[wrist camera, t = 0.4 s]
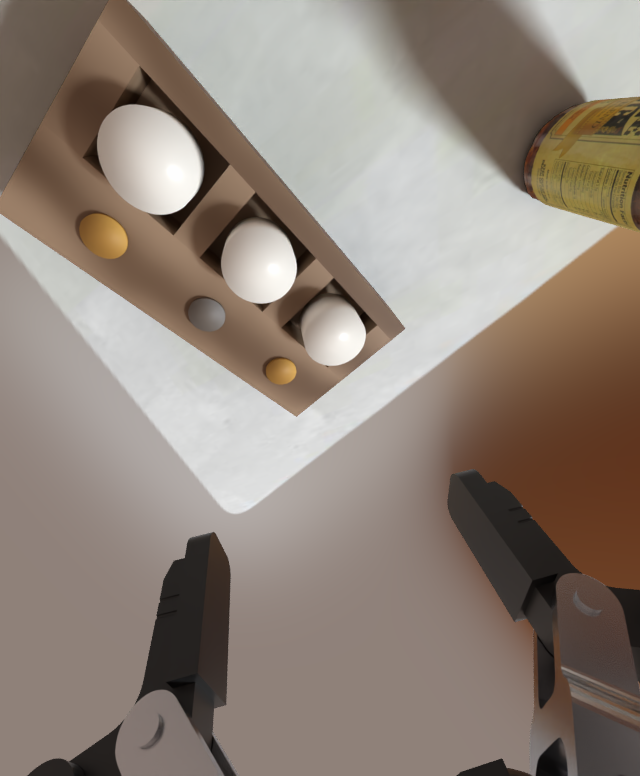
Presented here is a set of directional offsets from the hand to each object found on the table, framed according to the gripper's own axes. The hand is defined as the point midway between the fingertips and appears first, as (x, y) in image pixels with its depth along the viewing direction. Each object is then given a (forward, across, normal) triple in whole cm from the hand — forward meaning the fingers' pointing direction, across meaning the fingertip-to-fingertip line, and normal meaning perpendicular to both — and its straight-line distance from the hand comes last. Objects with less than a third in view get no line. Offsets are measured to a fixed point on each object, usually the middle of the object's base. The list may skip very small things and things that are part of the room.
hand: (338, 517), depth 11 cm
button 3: (+17, -3, 0) cm, 18 cm away
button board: (+21, +2, -5) cm, 22 cm away
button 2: (+17, +1, -6) cm, 18 cm away
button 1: (+17, +5, -11) cm, 21 cm away
